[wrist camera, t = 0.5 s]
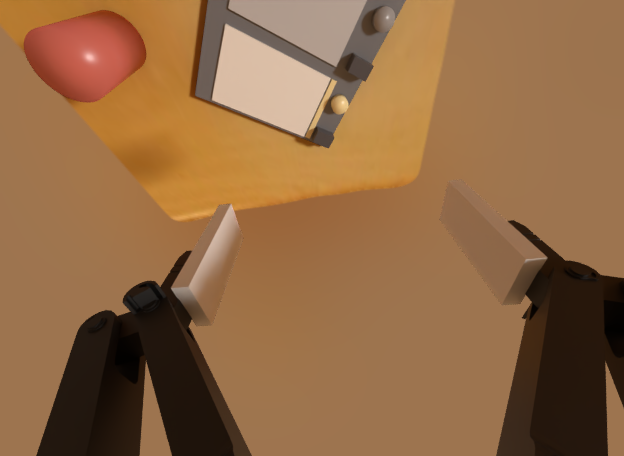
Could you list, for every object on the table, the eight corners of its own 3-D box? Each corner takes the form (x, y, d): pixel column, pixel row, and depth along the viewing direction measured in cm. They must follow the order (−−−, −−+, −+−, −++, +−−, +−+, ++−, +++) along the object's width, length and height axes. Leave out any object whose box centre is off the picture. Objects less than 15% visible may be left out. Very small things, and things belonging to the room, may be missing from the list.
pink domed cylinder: (84, -2, 25) (14, 12, 19) (146, 27, 27) (104, 48, 21) (91, 57, 29) (34, 86, 22) (145, 78, 31) (109, 111, 24)
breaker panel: (228, -136, 21) (224, -145, 19) (403, -4, 28) (412, -1, 26) (196, 92, 33) (192, 100, 31) (325, 144, 40) (327, 152, 38)
